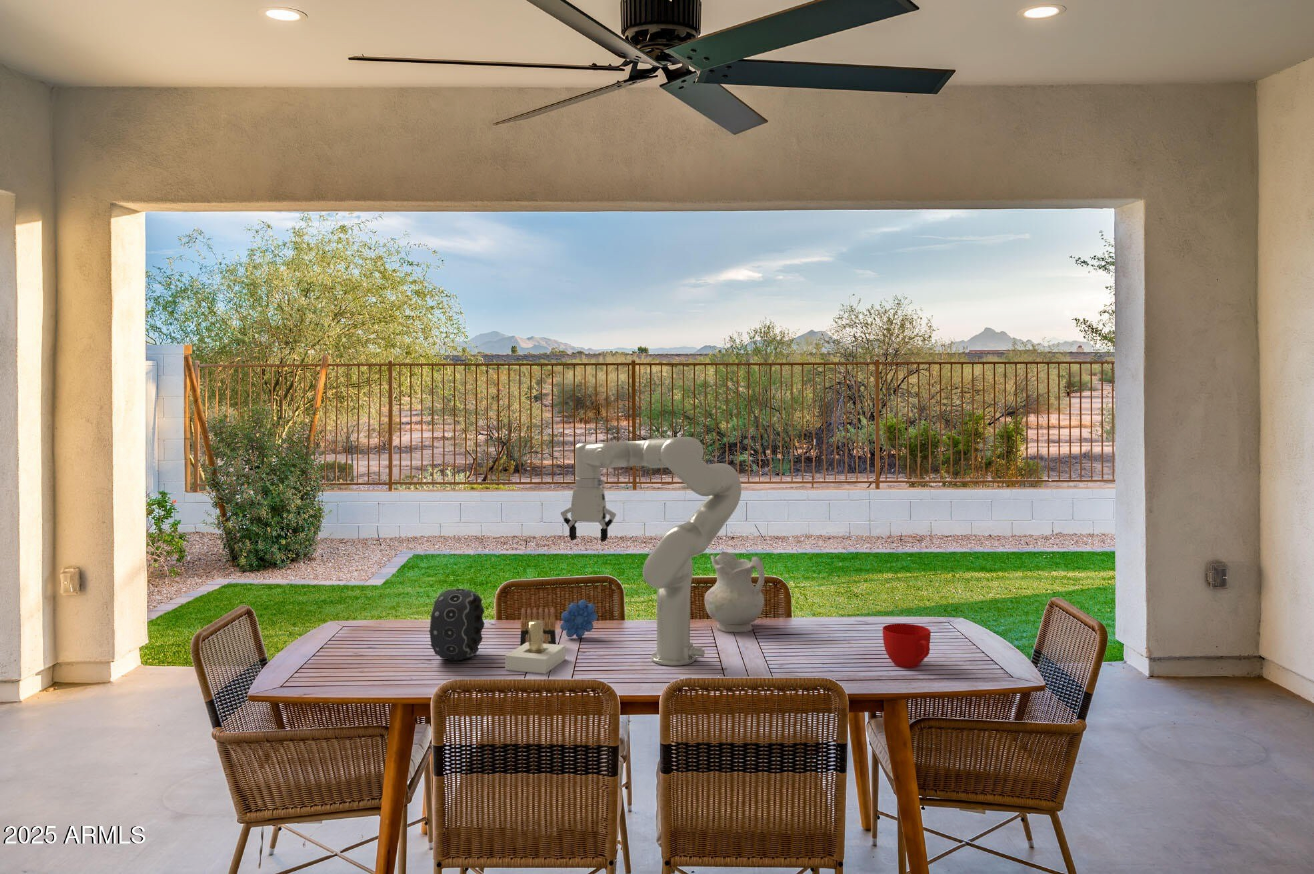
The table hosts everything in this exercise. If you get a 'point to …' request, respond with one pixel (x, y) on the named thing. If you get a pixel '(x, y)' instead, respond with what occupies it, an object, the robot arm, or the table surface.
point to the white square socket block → (535, 658)
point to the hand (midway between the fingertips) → (588, 540)
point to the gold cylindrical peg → (536, 636)
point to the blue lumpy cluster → (578, 619)
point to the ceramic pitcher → (735, 593)
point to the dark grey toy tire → (456, 624)
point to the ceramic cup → (906, 644)
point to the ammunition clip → (548, 630)
